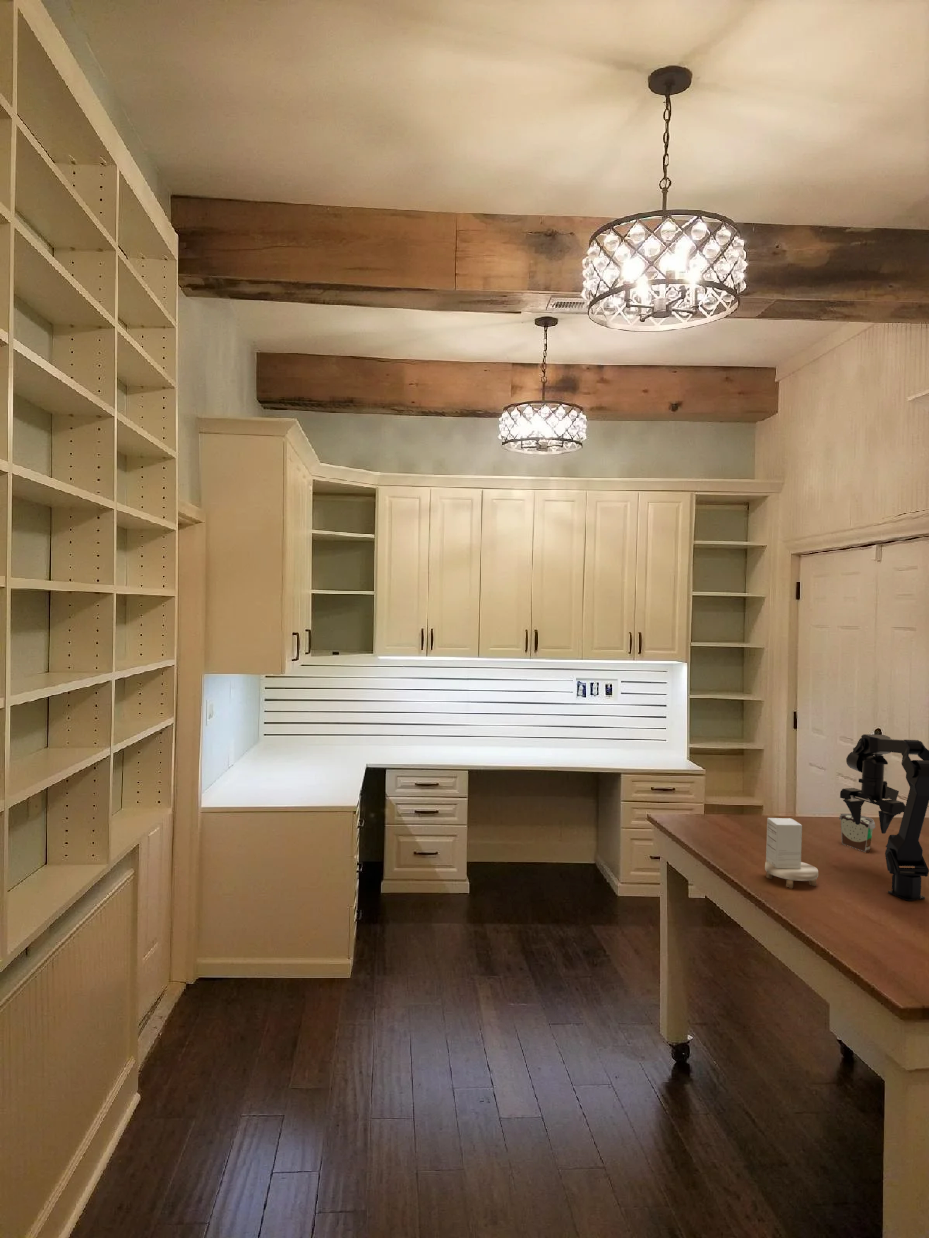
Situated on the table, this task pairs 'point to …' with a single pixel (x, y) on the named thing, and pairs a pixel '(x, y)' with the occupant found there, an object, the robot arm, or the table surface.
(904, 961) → the table surface
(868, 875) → the table surface
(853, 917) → the table surface
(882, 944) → the table surface
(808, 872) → the stool
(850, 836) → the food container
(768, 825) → the supplement box
